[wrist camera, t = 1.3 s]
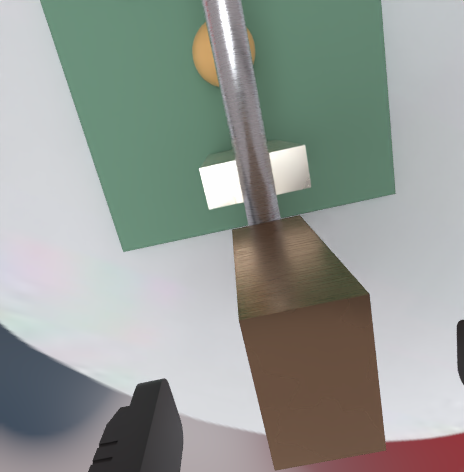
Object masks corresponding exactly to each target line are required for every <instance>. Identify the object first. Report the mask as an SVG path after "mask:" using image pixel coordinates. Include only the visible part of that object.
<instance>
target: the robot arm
mask: <svg viewBox="0 0 464 472" xmlns="http://www.w3.org/2000/svg"><path fill="white" fill-rule="evenodd" d="M457 364H458V373H459V376H460V379H461V381H462V383H463V385H464V320H460V321H459V322H458V324H457ZM182 451H183V430H182V424H181V420H180V417H179V414H178V411H177V408H176V405H175V402H174V398H173V395H172V392H171V389H170V386H169V383H168V381H167V380H166V379H160V380H155V381H150V382H145V383H140V384H138V385H137V386H136V389H135V391H134V394H133V397H132V400H131V404H130V406H126V407H121V408H120V409H119V410H118V411H117V412H116V414H115V415H114V416H113V418H112V419H111V420H110V421H109V423H108V424H107V425H106V428H105V430H104V433H103V435H102V438H101V440H100V443H99V448H97V451H96V453H95V456H94V458H93V465H91V466H90V469H89V471H88V472H180V467H181V459H182Z"/></svg>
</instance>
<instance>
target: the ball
mask: <svg viewBox="0 0 464 472" xmlns="http://www.w3.org/2000/svg"><path fill="white" fill-rule="evenodd" d="M246 28H247V27H246ZM247 34H248V39H249V45H250V50H251V56H252V62H253V64H254V60H255V43H254V40H253V37H252V35H251V33H250V31H249V30H248V28H247ZM192 56H193V61H194V65H195V67H196V69H197V71H198V73H199V74H200V75H201V77H202V78H203V79H204V80H206V81H207V82H208V83H210V84H212V85H214V86H217V87H219V82H218V78H217V73H216V68H215V63H214V59H213V54H212V49H211V44H210V39H209V35H208V30H207V25H206V22H205V23H204V24H203V25H202V26H201V27H200V28H199V30H198V32H197V33H196V35H195V38H194V41H193V46H192Z"/></svg>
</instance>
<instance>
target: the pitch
mask: <svg viewBox="0 0 464 472" xmlns="http://www.w3.org/2000/svg"><path fill="white" fill-rule="evenodd" d="M40 2H41V5H42V8H43V11H44V14H45V17H46V20H47V23H48V26H49V29H50V32H51V35H52V38H53V41H54V44H55V47H56V50H57V53H58V56H59V59H60V62H61V65H62V68H63V71H64V74H65V77H66V80H67V83H68V86H69V89H70V92H71V95H72V98H73V101H74V104H75V107H76V110H77V113H78V116H79V119H80V122H81V125H82V128H83V131H84V134H85V137H86V140H87V143H88V146H89V149H90V152H91V155H92V159H93V162H94V165H95V168H96V171H97V174H98V177H99V180H100V183H101V186H102V189H103V192H104V195H105V198H106V201H107V204H108V207H109V210H110V213H111V216H112V219H113V222H114V225H115V228H116V231H117V234H118V237H119V240H120V243H121V246H122V249H123V252H126V251H130V250H135V249H140V248H144V247H149V246H154V245H158V244H163V243H168V242H172V241H177V240H182V239H186V238H191V237H196V236H200V235H205V234H210V233H214V232H219V231H224V230H228V229H233V228H238V227H242V226H247V225H248V220H247V216H246V211H245V206H244V202H242V203H237V204H233V205H228V206H223V207H219V208H214V209H210V210H209V207H208V203H207V199H206V194H205V190H204V186H203V182H202V178H201V174H200V170H199V168H200V167H201V165H202V164H203V162H204V161H205V159H206V158H207V156H208V155H210V154H215V153H219V152H223V151H228V150H232V144H231V139H230V135H229V130H228V125H227V120H226V116H225V111H224V106H223V101H222V97H221V92H220V87H217V86H214V85H212V84H210V83H208V82H207V81H206V80H204V79H203V78H202V77H201V75H200V74H199V73H198V71H197V69H196V67H195V65H194V61H193V56H192V46H193V41H194V38H195V35H196V33H197V32H198V30H199V28H200V27H201V26H202V25H203V24H204V23H205V22H206V20H205V16H204V11H203V6H202V1H201V0H40ZM242 6H243V12H244V17H245V23H246V27H247V28H248V30H249V31H250V33H251V35H252V37H253V40H254V43H255V60H254V64H253V67H254V73H255V78H256V84H257V89H258V95H259V101H260V106H261V112H262V117H263V123H264V128H265V134H266V139H267V142H268V141H272V140H280V141H286V142H291V143H297V144H303V145H305V147H306V154H307V161H308V167H309V174H310V181H311V188H306V189H302V190H297V191H292V192H288V193H283V194H279V195H277V201H278V206H279V212H280V217H281V218H284V217H289V216H294V215H298V214H303V213H308V212H312V211H317V210H322V209H326V208H331V207H336V206H340V205H345V204H350V203H354V202H359V201H364V200H368V199H373V198H378V197H382V196H387V195H392V194H395V181H394V168H393V154H392V141H391V127H390V114H389V101H388V87H387V74H386V61H385V47H384V34H383V21H382V7H381V0H242Z"/></svg>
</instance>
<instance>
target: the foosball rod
mask: <svg viewBox="0 0 464 472" xmlns="http://www.w3.org/2000/svg"><path fill="white" fill-rule="evenodd" d="M201 1H202V6H203V11H204V16H205V20H206V25H207V30H208V35H209V39H210V44H211V49H212V54H213V59H214V63H215V68H216V73H217V78H218V82H219V87H220V92H221V97H222V101H223V106H224V111H225V116H226V120H227V125H228V130H229V135H230V139H231V144H232V150H228V151H223V152H219V153H215V154H210V155H208V156H207V158H206V159H205V161H204V162H203V164H202V165H201V167H200V168H199V170H200V174H201V178H202V182H203V186H204V190H205V194H206V199H207V203H208V207H209V210H210V209H214V208H219V207H223V206H228V205H233V204H237V203H242V202H244V206H245V211H246V216H247V220H248V225H249V226H247V227H242V228H238V229H233V230H232V235H233V248H234V261H235V275H236V288H237V302H238V315H239V323H240V327H241V331H242V335H243V340H244V344H245V348H246V352H247V356H248V361H249V365H250V369H251V373H252V377H253V381H254V386H255V390H256V394H257V398H258V402H259V406H260V411H261V415H262V419H263V423H264V427H265V432H266V436H267V440H268V444H269V448H270V452H271V457H272V461H273V465H274V469H275V470H281V469H286V468H292V467H297V466H302V465H308V464H314V463H319V462H325V461H330V460H336V459H341V458H346V457H352V456H357V455H363V454H369V453H374V452H379V451H385V450H386V444H385V435H384V426H383V416H382V407H381V398H380V388H379V379H378V370H377V360H376V351H375V342H374V332H373V323H372V314H371V304H370V295H369V293H368V292H367V291H366V290H365V288H364V287H363V286H362V285H361V284H360V283H359V282H358V281H357V279H356V278H355V277H354V276H353V275H352V274H351V273H350V272H349V270H348V269H347V268H346V267H345V266H344V265H343V264H342V263H341V261H340V260H339V259H338V258H337V257H336V256H335V255H334V253H333V252H332V251H331V250H330V249H329V248H328V247H327V246H326V244H325V243H324V242H323V241H322V240H321V239H320V238H319V237H318V235H317V234H316V233H315V232H314V231H313V230H312V229H311V228H310V226H309V225H308V224H307V223H306V222H305V221H304V220H303V219H302V217H301V216H300V215H298V216H294V217H289V218H284V219H281V217H280V212H279V206H278V201H277V195H279V194H283V193H288V192H292V191H297V190H302V189H306V188H311V181H310V174H309V167H308V161H307V154H306V147H305V145H303V144H297V143H291V142H286V141H280V140H272V141H268V142H267V139H266V134H265V128H264V123H263V117H262V112H261V106H260V101H259V95H258V89H257V84H256V78H255V73H254V67H253V62H252V56H251V50H250V45H249V39H248V34H247V28H246V23H245V17H244V12H243V6H242V0H201Z"/></svg>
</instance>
